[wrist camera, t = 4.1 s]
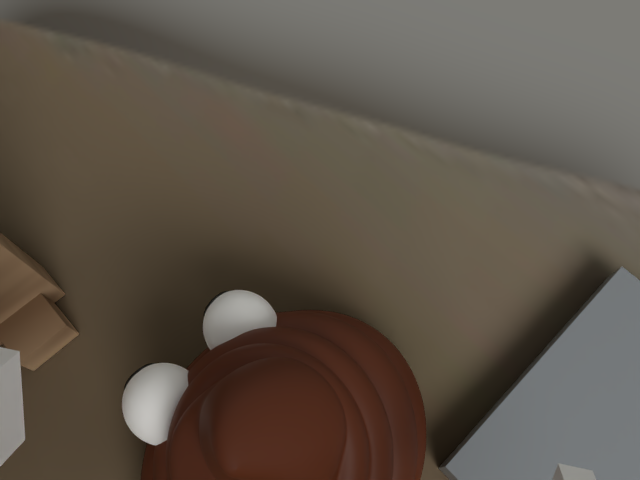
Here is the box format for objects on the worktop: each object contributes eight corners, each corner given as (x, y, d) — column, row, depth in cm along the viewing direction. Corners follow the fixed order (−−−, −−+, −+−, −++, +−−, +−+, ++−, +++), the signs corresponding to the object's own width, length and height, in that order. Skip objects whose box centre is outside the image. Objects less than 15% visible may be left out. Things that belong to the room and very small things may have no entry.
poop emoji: (269, 678, 17) (217, 860, 9) (95, 469, 20) (-79, 451, 11) (470, 426, 20) (578, 377, 12) (297, 272, 23) (282, 137, 14)
